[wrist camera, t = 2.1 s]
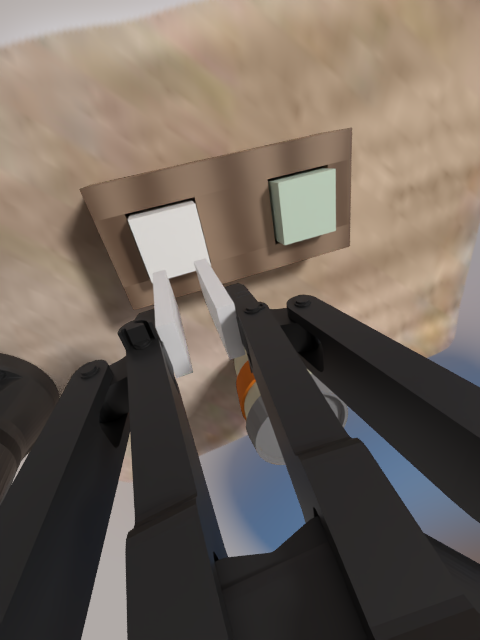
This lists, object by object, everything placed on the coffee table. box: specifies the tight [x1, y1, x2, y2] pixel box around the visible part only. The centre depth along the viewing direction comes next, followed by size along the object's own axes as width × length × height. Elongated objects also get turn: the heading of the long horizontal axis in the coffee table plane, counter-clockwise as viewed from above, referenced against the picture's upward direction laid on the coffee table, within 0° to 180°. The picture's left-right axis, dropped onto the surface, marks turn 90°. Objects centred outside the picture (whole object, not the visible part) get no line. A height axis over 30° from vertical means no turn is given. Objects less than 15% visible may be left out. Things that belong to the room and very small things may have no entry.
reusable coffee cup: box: [234, 348, 348, 465], centre depth 40 cm, size 12×13×15 cm
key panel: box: [80, 128, 352, 310], centre depth 31 cm, size 26×12×6 cm, turn 101°
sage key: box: [268, 168, 336, 245], centre depth 30 cm, size 6×6×5 cm
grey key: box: [128, 199, 211, 283], centre depth 28 cm, size 6×6×5 cm
